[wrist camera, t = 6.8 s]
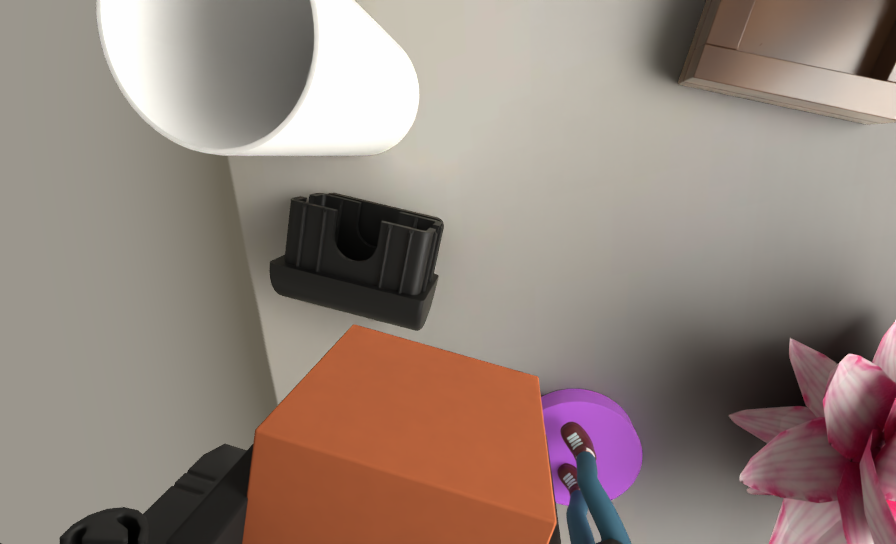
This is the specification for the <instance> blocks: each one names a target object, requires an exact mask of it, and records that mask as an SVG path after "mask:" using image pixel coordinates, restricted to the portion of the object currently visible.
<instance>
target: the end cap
mask: <svg viewBox="0 0 896 544" xmlns="http://www.w3.org/2000/svg"><path fill="white" fill-rule="evenodd" d="M306 199H307V198H305V197H295V198H291V206H290V215H289V224H288V233H287V242H286V251H285V255H283V256H281V257H279V258H277V259H274V260H272V261H270V279H271V283H272V286H273V288H274V290H275V291H276V292H277V293H278V294H280V295H282V296H285V297H289V298H293V299H297V300H301V301H304V302H308V303H312V304H316V305H320V306H324V307H327V308H331V309H335V310H339V311H343V312H347V313H351V314H354V315H358V316H362V317H366V318H370V319H374V320H377V321H381V322H385V323H389V324H393V325H397V326H400V327H404V328H408V329H412V330H416V331H418V330H420V329H421V328H422V327H423V325H424V323H425V321H426V318H427V316H428V313H429V310H430V307H431V303H432V300H433V296H434V293H435V289H436V285H437V281H438V275H437V274H434V269H435V265H436V260H437V256H438V251H439V246H440V242H441V237H442V232H443V228H444V225H443V222H442V220H441V219H439V218H437V217H433V216H429V215H424V214H420V213H416V212H412V211H408V210H404V209H399V208H395V207H391V206H387V205H383V204H379V203H374V202H370V201H366V200H362V199H358V198H353V197H349V196H345V195H341V194H337V193H329V194H324V193H316V194H311V195H310V196H309V202H306Z"/></svg>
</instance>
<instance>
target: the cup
mask: <svg viewBox="0 0 896 544" xmlns="http://www.w3.org/2000/svg"><path fill="white" fill-rule="evenodd" d="M96 17H97V26H98V32H99V38H100V42H101V46H102V50H103V53H104V56H105V59H106V62H107V64H108V67H109V69H110V72H111V73H112V76H113V78H114V80H115V82H116V84H117V85H118V87H119V89H120V91H121V92H122V94H123V95H124V97H125V98H126V100H127V101H128V102H129V104H130V105H131V106H132V107H133V109H134V110H135V111H136V112H137V113H138V115H139V116H140V117H141V118H142V119H143V120H144V121H145V122H146V123H147V124H149V125H150V126H151V127H152V128H153V129H154V130H156V131H157V132H159V133H160V134H161V135H163V136H164V137H166V138H168V139H169V140H171V141H172V142H175V143H177V144H179V145H181V146H183V147H186V148H188V149H191V150H194V151H198V152H203V153H208V154H214V155H224V156H225V155H226V156H371V155H376V154H380V153H382V152H385V151H387V150H389V149H391V148H392V147H394V146H395V145H396V144H397V143H399V142H400V141H401V140H402V139H403V138H404V136H405V135H406V134H407V133H408V131H409V130H410V128H411V126H412V124H413V122H414V119H415V117H416V114H417V110H418V104H419V85H418V79H417V75H416V72H415V69H414V67H413V65H412V62H411V61H410V59H409V57H408V56H407V54H406V53H405V51H404V50H403V49H402V48H401V47H400V46H399V45H398V44H397V43H396V42H395V41H394V40H393V39H392V38H391V37H390V36H389V35H388V34H387V33H386V32H385V31H384V30H383V29H382V28H381V27H380V26H379V25H378V24H377V23H376V22H375V21H374V20H373V19H372V18H371V16H370V15H369V14H368V13H367V12H366V11H365V10H364V9H363V8H362V7H361V6H360V5H359V4H358V3H357V2H356V1H355V0H96Z"/></svg>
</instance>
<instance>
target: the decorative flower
mask: <svg viewBox="0 0 896 544" xmlns="http://www.w3.org/2000/svg"><path fill="white" fill-rule="evenodd" d="M789 358H790V361H791V363H792V366H793V369H794V372H795V375H796V378H797V381H798V384H799V387H800V390H801V393H802V396H803V399H804V402H805V405H806V406H807V407H808V408H807V407H803V406H791V407H777V408H762V409H748V410H742V411H739V412H736V413H733V414H729V415H728V416H729V417H730V418H731V419H732V421H733V422H734V423H735V424H737V425H738V426H740V427H741V428H743V429H745V430H746V431H748V432H750V433H751V434H753V435H754V436H756V437H758V438H759V439H761V440H762V441H764V442H766V443H767V445H766V446H764V447H763V448H762V449H761V450H760V451H758V452H757V453H756V454H755V455H754V456H753V457H751V459H750V460H749V462H748V463H747V465H746V467H745V468H744V470H743V471H742V473H741V474H740V482H741V483H743V484H745V485H747V486H749V488H748V489H747V490H746V491H747V492H748V493H749V494H757V495H775V496H778V497H782V498H784V499H783V502H782V505H781V508H780V511H779V514H778V517H777V520H776V523H775V526H774V530H773V533H772V536H771V539H770V542H769V544H896V321H895V322H894V323H893V324H892V326H891V327H890V328H889V329H888V331H887V332H886V333H885V335H884V336H883V338H882V340H881V342H880V345H879V347H878V349H877V351H876V354H875V356H874V358H873V361H872V362H870V361H868V360H867V359H865V358H863V357H861V356H859V355H854V354H848V355H846V356H845V357H844V358H843V359H842V360H841V361H840V362H839V363H838V364H837V363H836V362H834V361H833V360H831V359H830V358H828V357H827V356H825V355H824V354H822V353H820V352H818V351H816V350H814V349H812V348H810V347H808V346H806V345H804V344H802V343H800V342H798V341H796V340H794V339H792V338H790V345H789Z"/></svg>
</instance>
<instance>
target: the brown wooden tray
mask: <svg viewBox="0 0 896 544" xmlns="http://www.w3.org/2000/svg"><path fill="white" fill-rule="evenodd" d="M678 84H679V85H684V86H688V87H693V88H698V89H702V90H707V91H712V92H716V93H721V94H726V95H731V96H735V97H740V98H745V99H749V100H754V101H759V102H763V103H768V104H773V105H778V106H782V107H787V108H792V109H796V110H801V111H806V112H810V113H815V114H820V115H824V116H829V117H834V118H839V119H843V120H848V121H853V122H857V123H862V124H867V125H869V124H880V123H881V124H882V123H893V122H896V0H706V3H705V6H704V9H703V12H702V15H701V17H700V20H699V23H698V26H697V29H696V32H695V35H694V38H693V40H692V43H691V46H690V49H689V52H688V55H687V58H686V61H685V64H684V66H683V69H682V72H681V75H680V78H679V81H678Z"/></svg>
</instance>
